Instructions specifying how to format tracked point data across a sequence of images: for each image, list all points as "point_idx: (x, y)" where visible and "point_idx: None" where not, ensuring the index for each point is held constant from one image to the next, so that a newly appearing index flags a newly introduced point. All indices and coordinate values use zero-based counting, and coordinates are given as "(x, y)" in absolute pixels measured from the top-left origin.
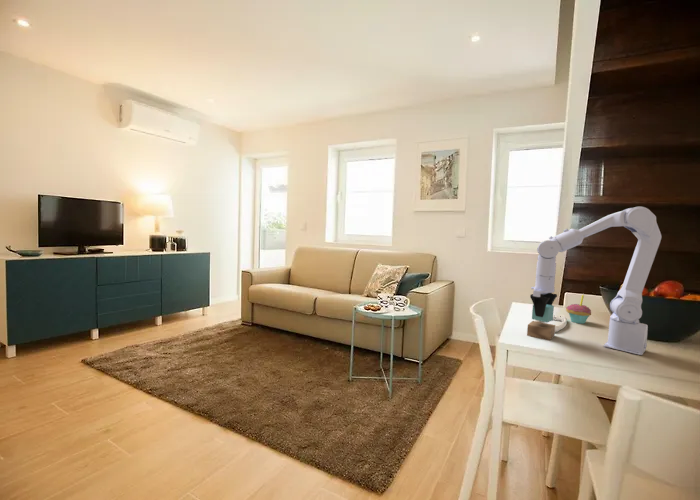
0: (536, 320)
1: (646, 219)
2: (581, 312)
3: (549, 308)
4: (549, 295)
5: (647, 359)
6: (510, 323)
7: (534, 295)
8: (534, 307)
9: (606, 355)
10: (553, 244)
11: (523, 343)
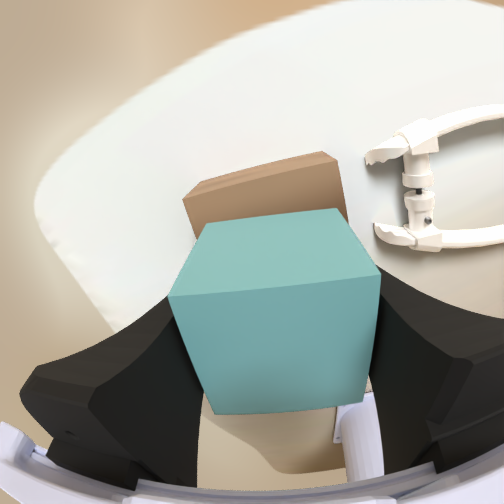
0: (472, 123)
1: None
2: None
3: (232, 406)
4: (402, 461)
5: (314, 447)
6: (357, 2)
7: (7, 437)
8: (146, 315)
9: (253, 416)
10: None
11: (81, 243)
